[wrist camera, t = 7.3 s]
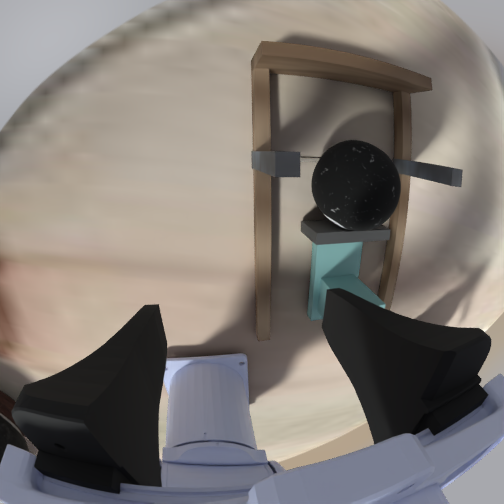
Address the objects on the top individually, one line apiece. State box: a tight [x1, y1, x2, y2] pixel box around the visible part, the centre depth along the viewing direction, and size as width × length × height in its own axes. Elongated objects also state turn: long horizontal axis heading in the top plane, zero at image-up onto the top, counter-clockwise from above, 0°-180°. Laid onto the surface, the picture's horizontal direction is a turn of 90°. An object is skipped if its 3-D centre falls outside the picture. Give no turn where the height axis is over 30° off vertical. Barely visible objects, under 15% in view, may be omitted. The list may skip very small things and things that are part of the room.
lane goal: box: [251, 41, 462, 341], centre depth 18 cm, size 22×13×7 cm, turn 1°
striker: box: [301, 220, 391, 321], centre depth 20 cm, size 8×6×6 cm
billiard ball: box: [312, 140, 401, 231], centre depth 17 cm, size 6×6×6 cm
